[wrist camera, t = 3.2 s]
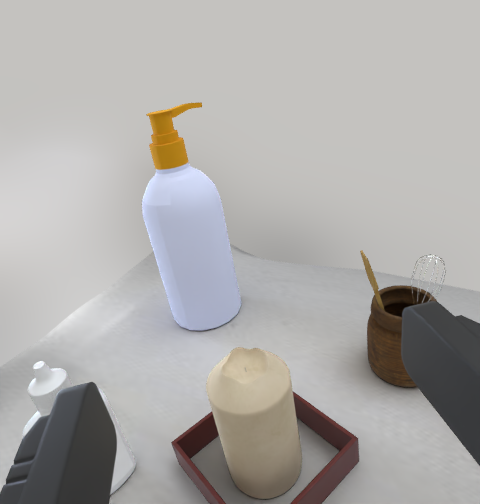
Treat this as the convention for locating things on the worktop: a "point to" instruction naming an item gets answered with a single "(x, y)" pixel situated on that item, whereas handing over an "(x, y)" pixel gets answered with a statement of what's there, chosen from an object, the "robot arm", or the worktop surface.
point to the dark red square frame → (311, 416)
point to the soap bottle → (188, 232)
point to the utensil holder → (391, 326)
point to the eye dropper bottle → (44, 397)
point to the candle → (256, 421)
